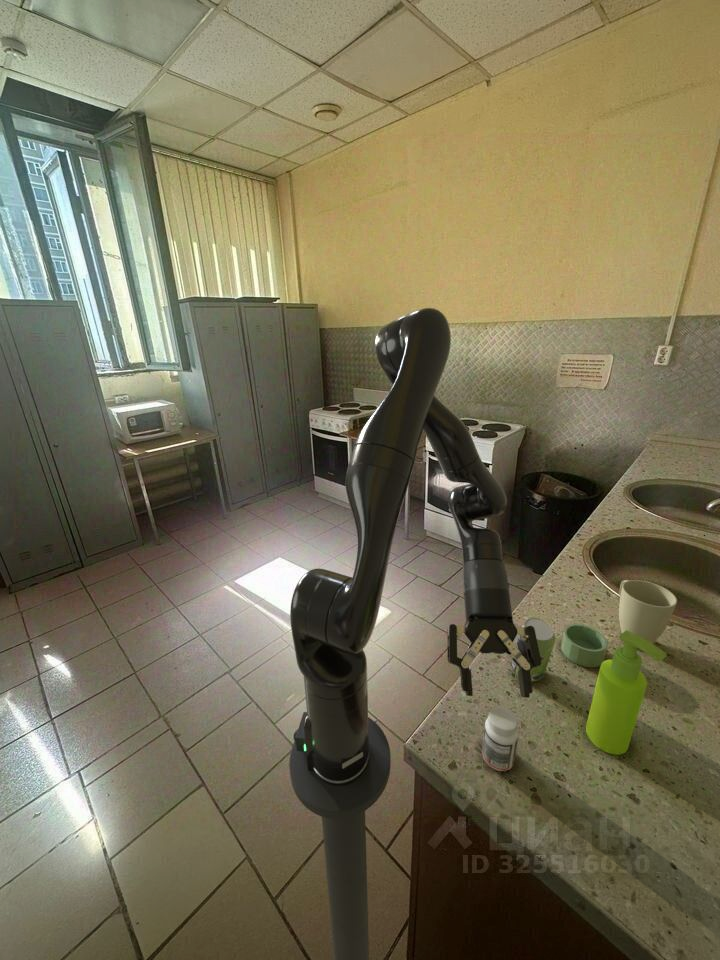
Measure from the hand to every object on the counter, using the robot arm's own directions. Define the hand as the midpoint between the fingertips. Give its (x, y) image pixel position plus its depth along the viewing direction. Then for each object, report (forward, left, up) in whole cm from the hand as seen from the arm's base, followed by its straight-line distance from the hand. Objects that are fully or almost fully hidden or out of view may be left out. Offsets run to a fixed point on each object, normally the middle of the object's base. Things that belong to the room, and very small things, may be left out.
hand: (497, 696), depth 61 cm
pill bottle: (0, -3, -9) cm, 9 cm away
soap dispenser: (+18, +2, -9) cm, 20 cm away
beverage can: (+9, +14, -9) cm, 18 cm away
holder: (+21, +21, -8) cm, 30 cm away
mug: (+33, +27, -9) cm, 43 cm away
